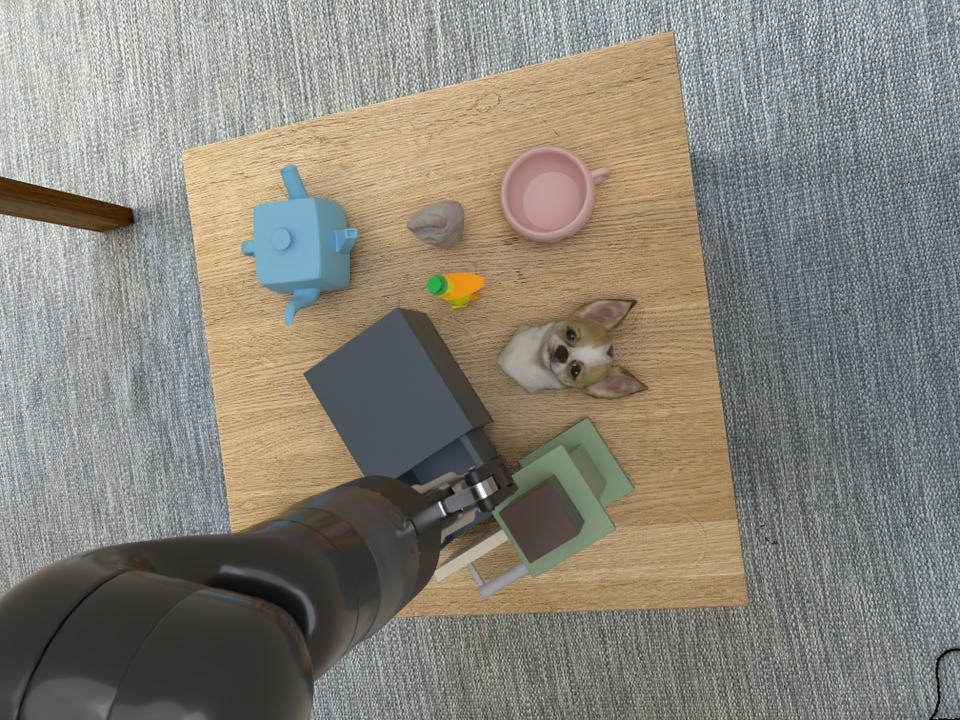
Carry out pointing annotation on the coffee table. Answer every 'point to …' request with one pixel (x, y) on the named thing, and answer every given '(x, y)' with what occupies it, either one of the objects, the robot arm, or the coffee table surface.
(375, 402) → the cabinet
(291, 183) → the teapot
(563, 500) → the block
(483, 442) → the drawer
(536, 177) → the mug
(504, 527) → the stand
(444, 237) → the fossil
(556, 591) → the coffee table surface
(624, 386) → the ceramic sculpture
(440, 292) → the toy figure
